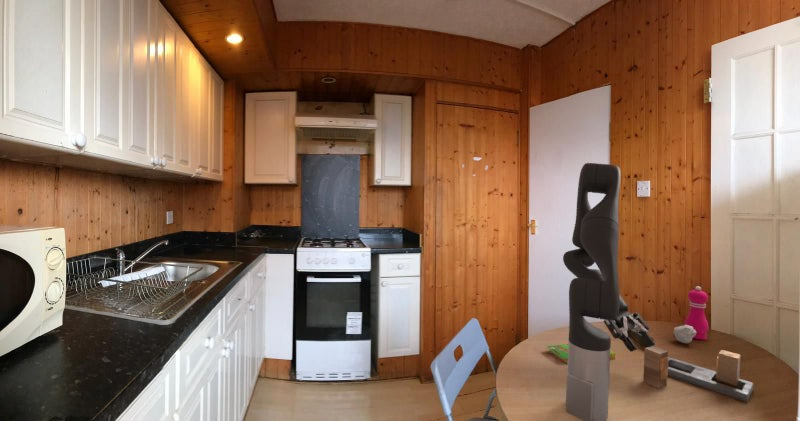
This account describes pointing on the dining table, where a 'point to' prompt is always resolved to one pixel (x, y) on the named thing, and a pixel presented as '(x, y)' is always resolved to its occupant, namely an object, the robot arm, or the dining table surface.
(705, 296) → the pepper mill
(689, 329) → the crumpled paper ball
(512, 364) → the dining table surface
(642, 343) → the dark brown stick
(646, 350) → the tan wooden block
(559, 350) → the game box
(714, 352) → the dining table surface
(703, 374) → the gray block holder
